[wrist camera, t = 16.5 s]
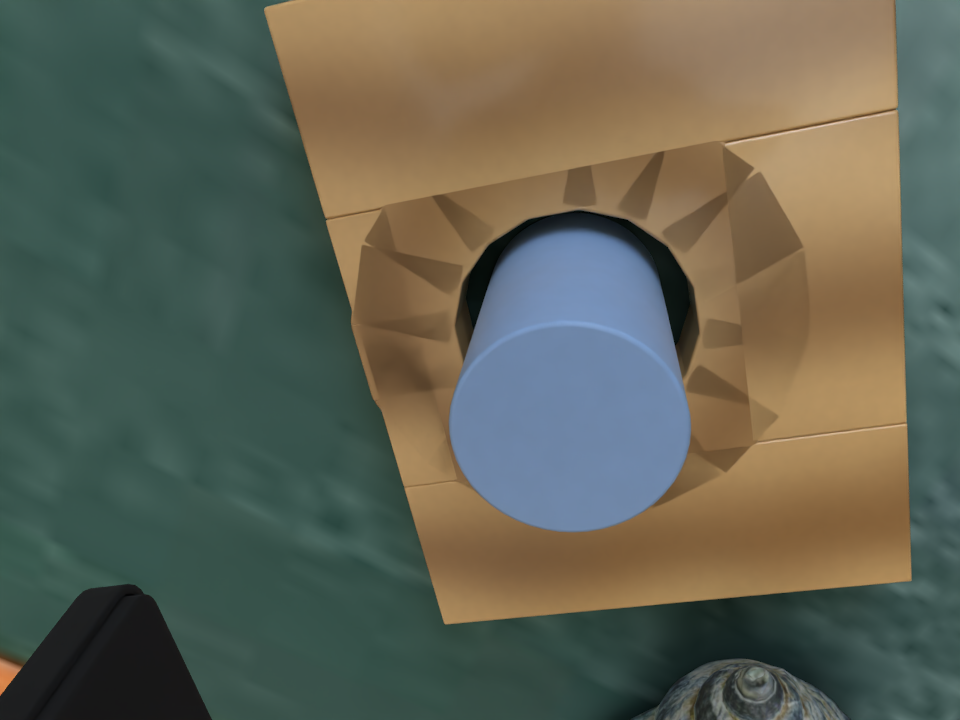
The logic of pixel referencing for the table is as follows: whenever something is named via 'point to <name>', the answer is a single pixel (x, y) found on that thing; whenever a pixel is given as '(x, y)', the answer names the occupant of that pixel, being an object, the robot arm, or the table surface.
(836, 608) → the table surface
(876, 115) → the holder
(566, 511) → the light blue cylinder
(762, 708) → the seashell
